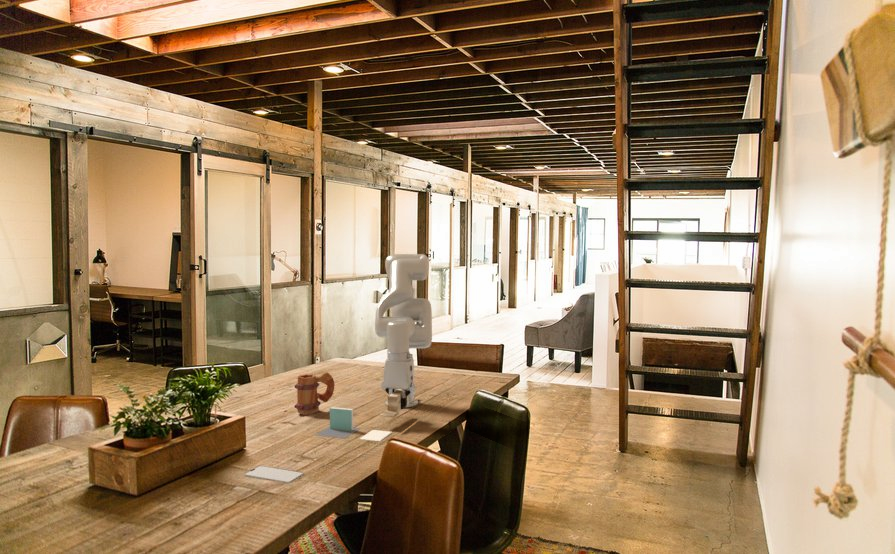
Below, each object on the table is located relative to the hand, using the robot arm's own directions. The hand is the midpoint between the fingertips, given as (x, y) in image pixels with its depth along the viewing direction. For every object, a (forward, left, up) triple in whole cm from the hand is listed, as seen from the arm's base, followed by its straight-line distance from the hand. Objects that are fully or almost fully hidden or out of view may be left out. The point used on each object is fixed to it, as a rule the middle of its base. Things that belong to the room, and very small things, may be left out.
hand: (398, 406), depth 215 cm
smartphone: (+56, -13, -6) cm, 58 cm away
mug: (-2, -34, -6) cm, 35 cm away
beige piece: (+2, 0, -1) cm, 2 cm away
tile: (+15, -14, -5) cm, 21 cm away
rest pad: (+18, 0, -6) cm, 19 cm away
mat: (+17, -15, -6) cm, 23 cm away
